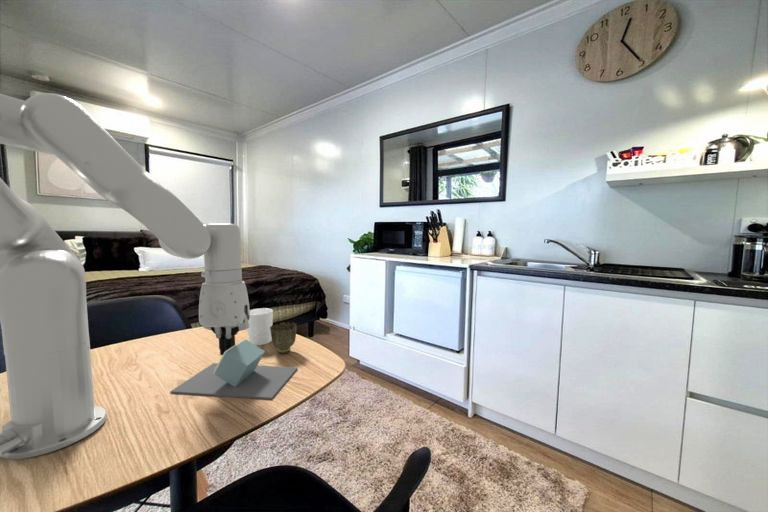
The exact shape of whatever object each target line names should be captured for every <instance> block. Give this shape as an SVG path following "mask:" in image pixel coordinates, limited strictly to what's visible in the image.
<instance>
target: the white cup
mask: <svg viewBox="0 0 768 512" xmlns="http://www.w3.org/2000/svg"><path fill="white" fill-rule="evenodd" d="M273 311H274V310H273V309H272V308H268V307H262V308H261V307H260V308H253V309H250V318H249V320H248V323H249V328H247V329H246V330H247V336H248V341H249V342H251V343H253V344H254V345H256V346H257V347H259V346H264V345H267V344H269V343H272V338H271V331H270V327H271V326H272V325H273V322H274V321H273V320H274V316H273V315H274V313H273Z"/></svg>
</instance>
